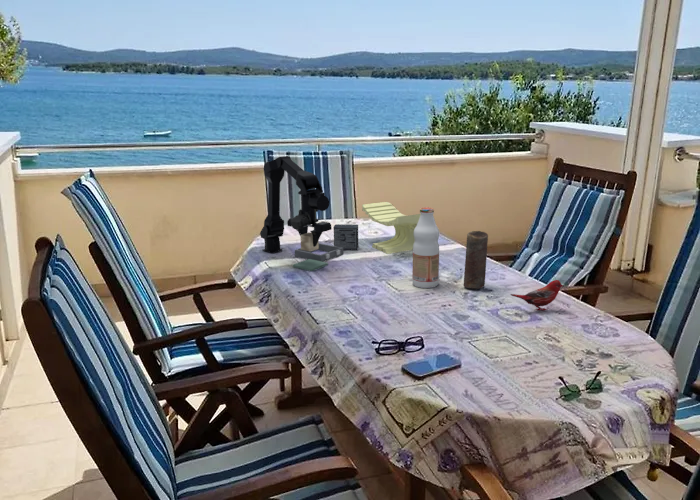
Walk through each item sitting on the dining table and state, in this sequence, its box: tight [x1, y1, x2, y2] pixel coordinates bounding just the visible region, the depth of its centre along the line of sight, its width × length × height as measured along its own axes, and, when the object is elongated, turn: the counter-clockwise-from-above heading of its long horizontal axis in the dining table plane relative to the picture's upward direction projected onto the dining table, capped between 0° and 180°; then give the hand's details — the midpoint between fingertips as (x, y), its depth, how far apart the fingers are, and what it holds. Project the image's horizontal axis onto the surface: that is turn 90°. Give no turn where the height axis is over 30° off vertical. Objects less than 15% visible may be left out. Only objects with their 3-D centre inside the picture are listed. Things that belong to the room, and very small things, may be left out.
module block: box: [300, 231, 320, 252], centre depth 241 cm, size 5×5×6 cm
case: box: [294, 242, 344, 262], centre depth 258 cm, size 15×15×3 cm
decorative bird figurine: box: [510, 279, 564, 311], centre depth 192 cm, size 3×18×10 cm, turn 100°
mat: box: [292, 259, 329, 272], centre depth 244 cm, size 10×10×1 cm
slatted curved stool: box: [361, 201, 421, 255], centre depth 266 cm, size 30×16×18 cm, turn 28°
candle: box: [463, 230, 489, 290], centre depth 213 cm, size 8×7×20 cm
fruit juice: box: [411, 206, 440, 289], centre depth 216 cm, size 9×9×28 cm
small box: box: [333, 223, 359, 251], centre depth 268 cm, size 11×6×10 cm, turn 84°
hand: (309, 245), depth 242 cm, fingers closed on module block, 5 cm apart
